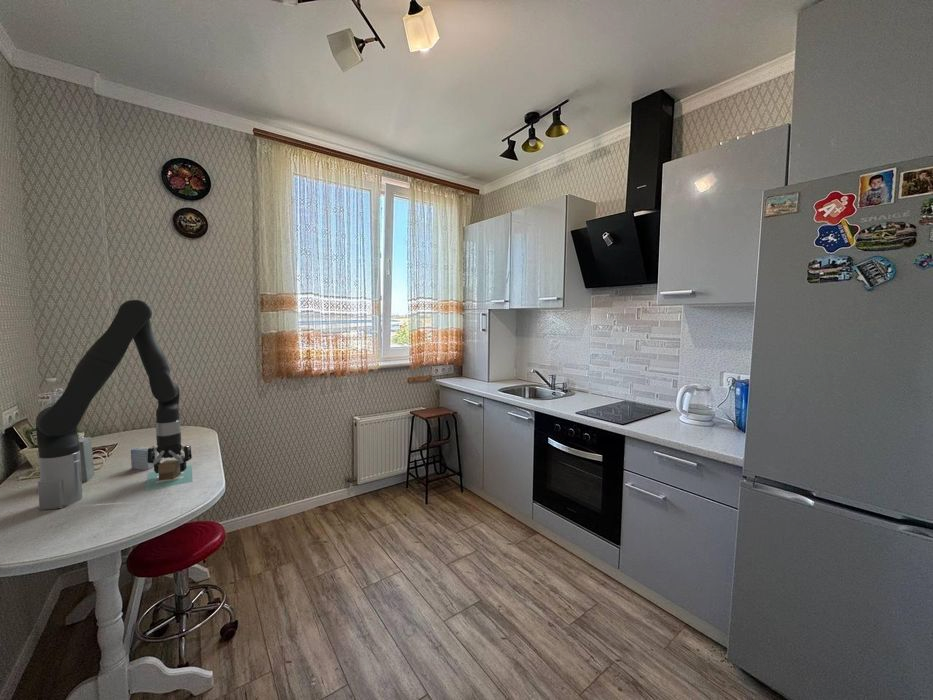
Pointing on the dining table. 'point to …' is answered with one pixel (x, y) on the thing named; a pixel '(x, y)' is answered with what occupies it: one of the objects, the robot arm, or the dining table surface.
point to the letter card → (155, 483)
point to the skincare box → (86, 459)
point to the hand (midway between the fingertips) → (170, 471)
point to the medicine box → (141, 458)
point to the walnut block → (169, 469)
